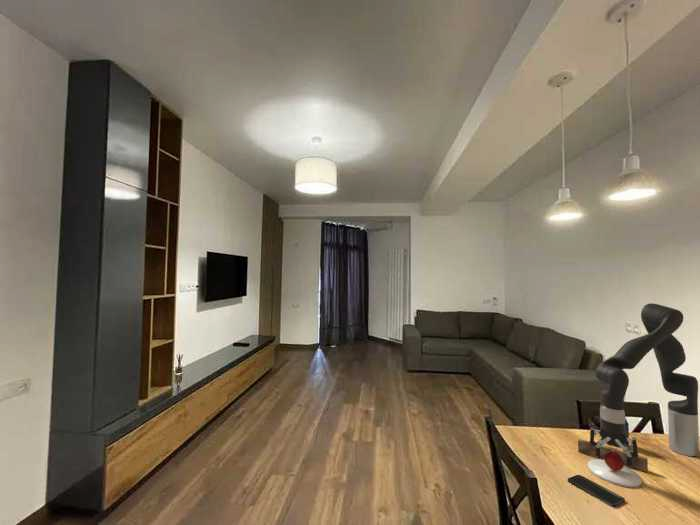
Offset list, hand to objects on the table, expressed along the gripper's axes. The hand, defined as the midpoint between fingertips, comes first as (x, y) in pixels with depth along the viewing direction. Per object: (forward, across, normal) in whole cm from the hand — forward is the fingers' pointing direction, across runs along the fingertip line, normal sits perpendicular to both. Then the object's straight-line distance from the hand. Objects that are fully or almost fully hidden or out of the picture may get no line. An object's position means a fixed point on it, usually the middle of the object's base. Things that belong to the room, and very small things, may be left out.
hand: (613, 461), depth 123 cm
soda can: (+5, +2, +30) cm, 30 cm away
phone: (+5, -5, -18) cm, 19 cm away
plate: (+5, 0, 0) cm, 5 cm away
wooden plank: (+5, -1, +11) cm, 12 cm away
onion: (+4, 0, 0) cm, 4 cm away
